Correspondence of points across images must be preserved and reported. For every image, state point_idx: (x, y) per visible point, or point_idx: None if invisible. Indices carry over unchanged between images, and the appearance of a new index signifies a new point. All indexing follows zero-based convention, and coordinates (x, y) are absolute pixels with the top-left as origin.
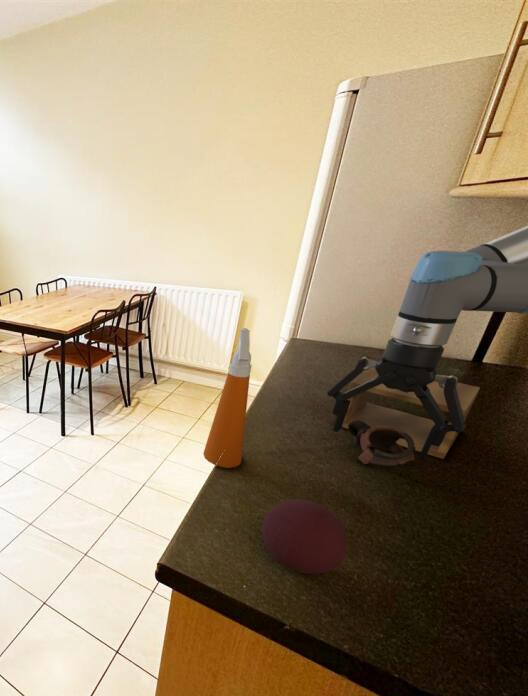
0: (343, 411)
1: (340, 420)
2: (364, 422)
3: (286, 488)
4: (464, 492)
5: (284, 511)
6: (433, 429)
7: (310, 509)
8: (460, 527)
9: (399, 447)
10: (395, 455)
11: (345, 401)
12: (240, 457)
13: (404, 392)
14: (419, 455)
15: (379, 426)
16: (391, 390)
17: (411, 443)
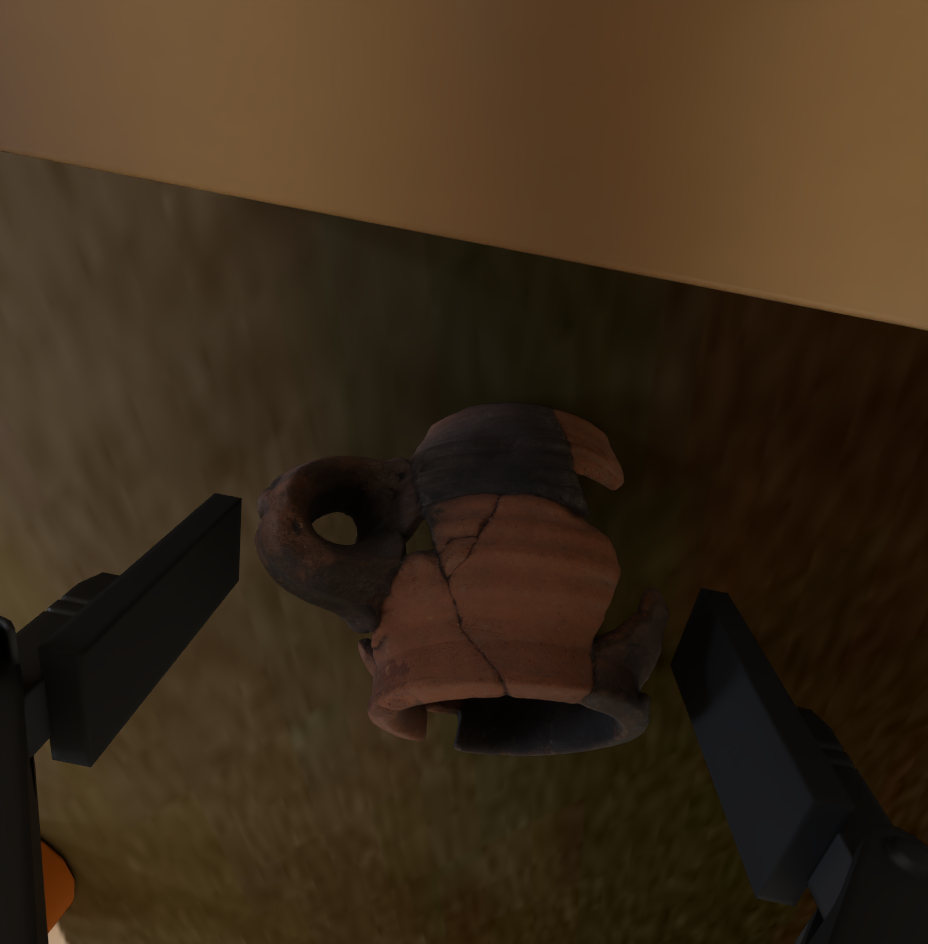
0: (137, 703)
1: (187, 643)
2: (330, 569)
3: (253, 920)
4: (854, 642)
5: None
6: (775, 890)
7: None
8: None
9: (595, 480)
10: (553, 752)
11: (53, 697)
12: (47, 918)
13: (585, 57)
14: (678, 686)
15: (424, 697)
16: (363, 112)
17: (632, 729)
